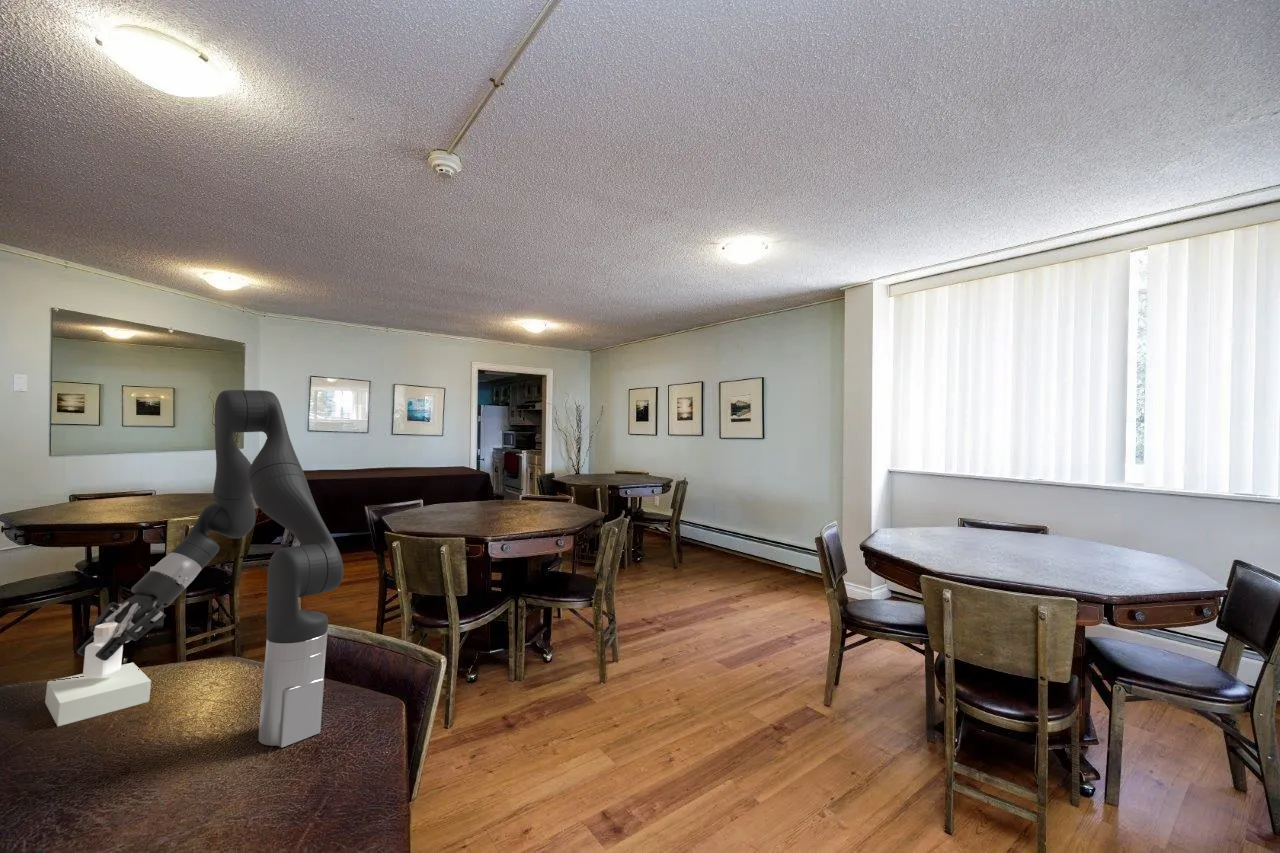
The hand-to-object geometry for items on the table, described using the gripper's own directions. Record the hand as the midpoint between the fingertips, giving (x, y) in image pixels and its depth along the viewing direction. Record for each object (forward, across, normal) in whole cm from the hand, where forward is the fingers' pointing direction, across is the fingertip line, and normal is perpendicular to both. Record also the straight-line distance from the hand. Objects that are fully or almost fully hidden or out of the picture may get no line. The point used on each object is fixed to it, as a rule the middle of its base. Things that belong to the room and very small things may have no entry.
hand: (91, 656), depth 98 cm
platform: (+5, 0, +8) cm, 9 cm away
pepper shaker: (+2, 0, +4) cm, 5 cm away
